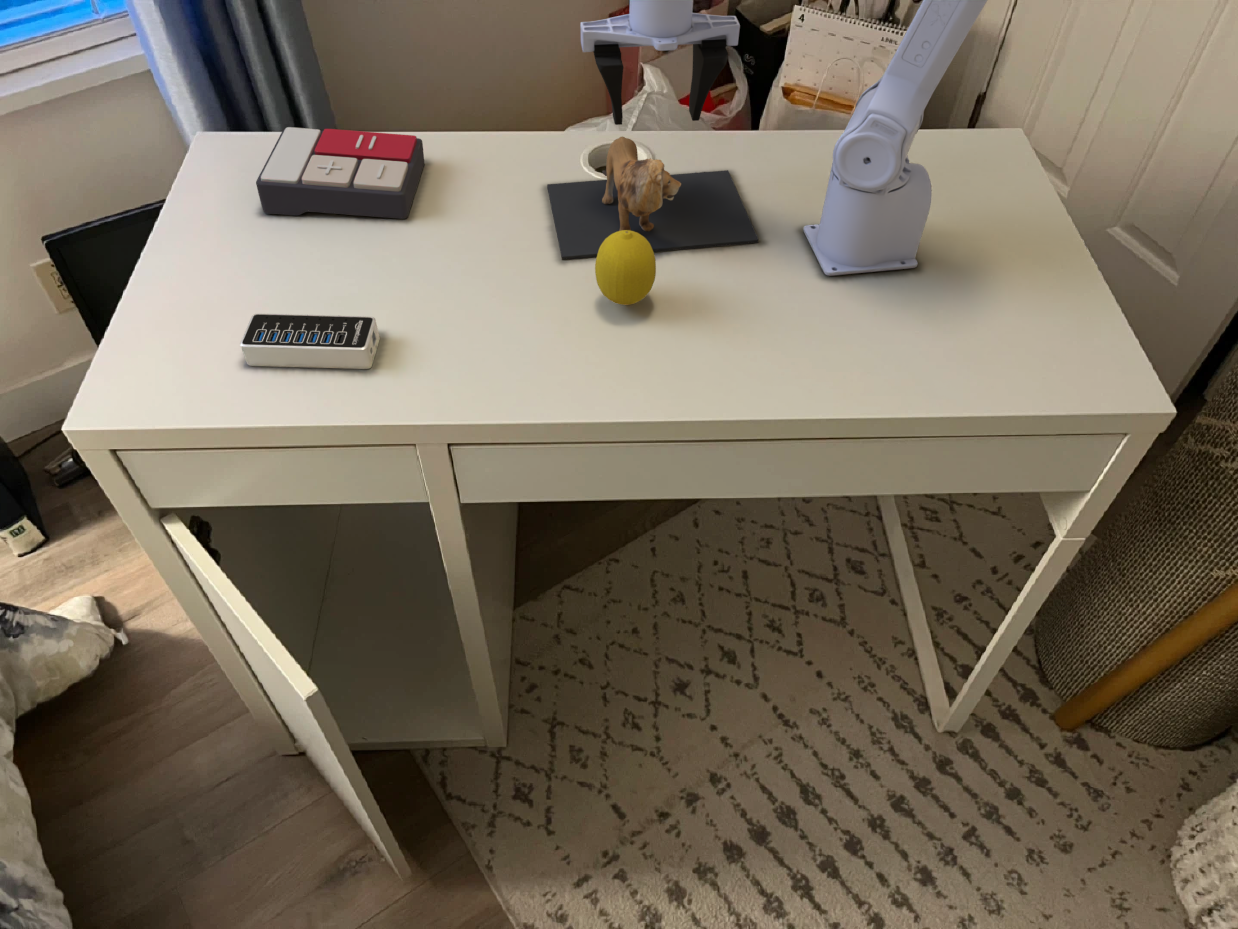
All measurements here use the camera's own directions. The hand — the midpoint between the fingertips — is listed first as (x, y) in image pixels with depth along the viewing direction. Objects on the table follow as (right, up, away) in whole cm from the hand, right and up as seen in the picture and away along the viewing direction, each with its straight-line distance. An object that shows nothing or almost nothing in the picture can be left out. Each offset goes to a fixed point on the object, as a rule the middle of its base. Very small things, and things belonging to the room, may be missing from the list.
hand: (655, 117), depth 93 cm
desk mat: (0, -8, +5) cm, 10 cm away
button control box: (-33, -5, +8) cm, 34 cm away
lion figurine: (-2, -9, +5) cm, 10 cm away
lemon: (-3, -19, -4) cm, 20 cm away
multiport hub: (-31, -24, -9) cm, 40 cm away
